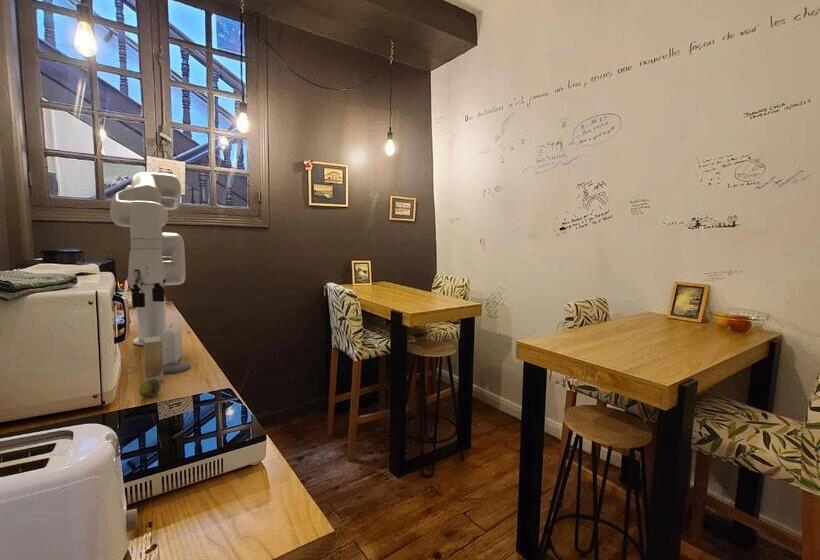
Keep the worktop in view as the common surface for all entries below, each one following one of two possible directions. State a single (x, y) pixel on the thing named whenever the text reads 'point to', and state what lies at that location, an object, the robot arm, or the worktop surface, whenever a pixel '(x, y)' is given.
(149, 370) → the skincare box
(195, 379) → the worktop surface
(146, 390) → the lime
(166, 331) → the photo printer
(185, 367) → the coaster
